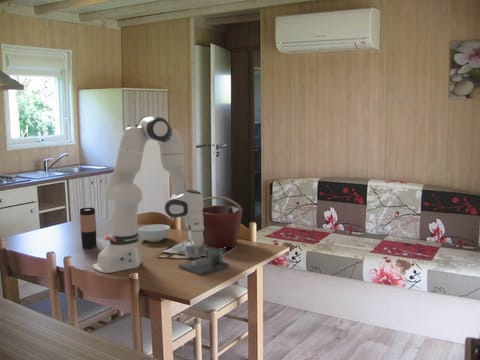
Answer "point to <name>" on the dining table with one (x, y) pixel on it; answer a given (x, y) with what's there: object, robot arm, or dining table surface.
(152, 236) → the cereal bowl
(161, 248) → the dining table surface
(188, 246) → the block
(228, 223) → the bucket
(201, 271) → the coupler plate
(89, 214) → the travel mug
